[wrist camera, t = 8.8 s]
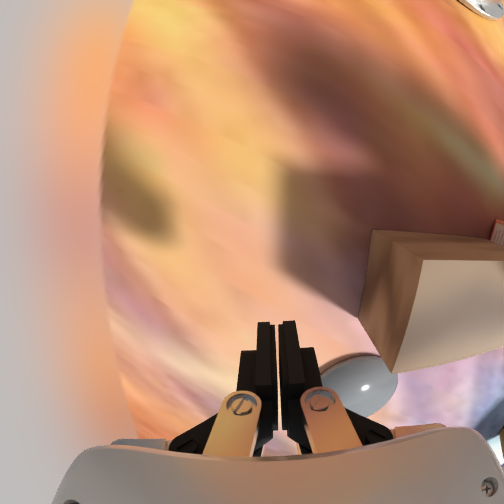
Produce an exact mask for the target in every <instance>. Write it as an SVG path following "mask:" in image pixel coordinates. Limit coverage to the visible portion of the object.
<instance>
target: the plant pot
mask: <svg viewBox="0 0 504 504" xmlns="http://www.w3.org/2000/svg"><path fill="white" fill-rule="evenodd" d="M500 441H501V447H502V452H503V457H504V427H503V429H502V430H501V432H500Z"/></svg>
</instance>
